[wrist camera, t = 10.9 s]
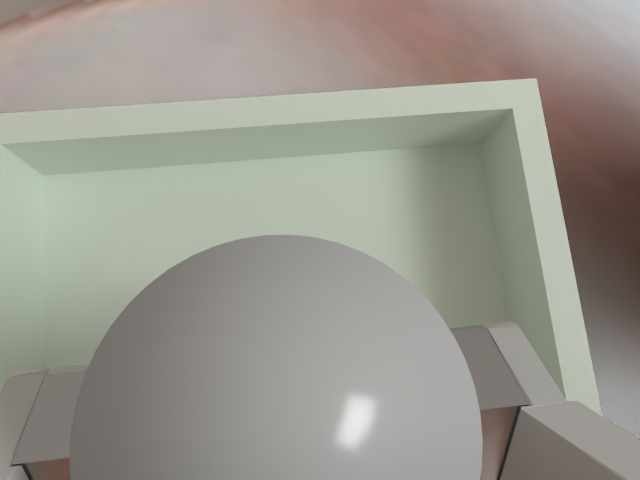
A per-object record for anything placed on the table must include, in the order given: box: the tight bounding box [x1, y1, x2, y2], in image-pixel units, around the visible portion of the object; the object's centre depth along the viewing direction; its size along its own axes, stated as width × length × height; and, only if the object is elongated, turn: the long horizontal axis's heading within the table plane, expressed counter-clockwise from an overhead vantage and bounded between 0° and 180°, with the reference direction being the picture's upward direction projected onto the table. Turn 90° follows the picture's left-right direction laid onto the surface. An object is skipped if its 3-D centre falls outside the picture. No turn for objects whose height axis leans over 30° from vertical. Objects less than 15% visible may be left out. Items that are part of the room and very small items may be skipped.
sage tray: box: [0, 78, 603, 417], centre depth 18 cm, size 18×18×4 cm
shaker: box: [69, 235, 483, 480], centre depth 11 cm, size 4×4×10 cm
